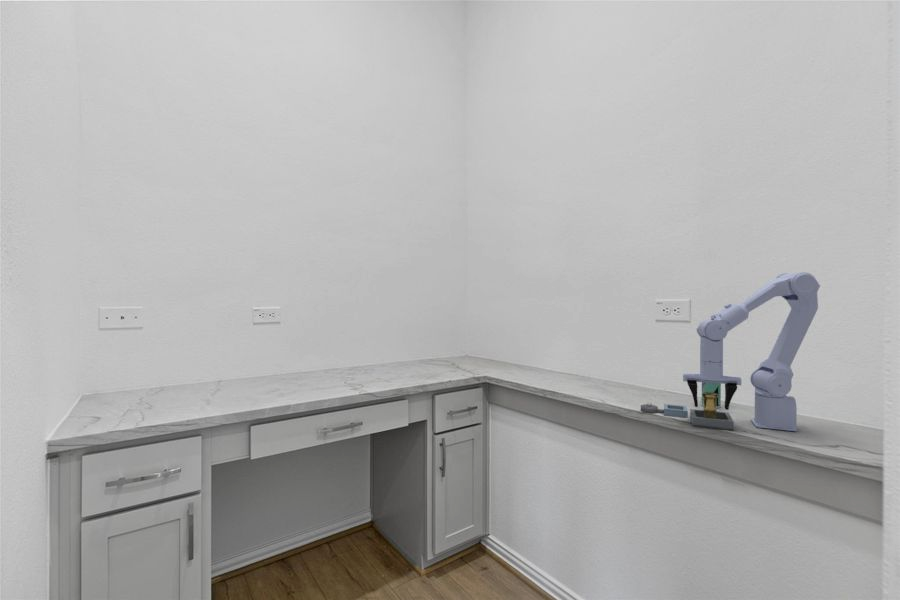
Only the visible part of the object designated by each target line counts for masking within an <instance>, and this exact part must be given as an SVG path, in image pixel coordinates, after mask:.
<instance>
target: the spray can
mask: <svg viewBox="0 0 900 600" xmlns="http://www.w3.org/2000/svg"><path fill="white" fill-rule="evenodd" d="M708 381H709V380H708ZM703 392H711V393H716V394H718V398H716V410H718V409H721V407H722V406H721V404H722V403H721V402H722V401H721V400H722V399H721V397H722V396H721V395H722V394H721V392H722V384H721V383H707V382H701V394H702V393H703ZM701 406H702V407H703V408H704V397H703V396H702V395H701Z"/></svg>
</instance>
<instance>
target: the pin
mask: <svg viewBox="0 0 900 600" xmlns="http://www.w3.org/2000/svg"><path fill="white" fill-rule="evenodd" d="M702 396H703V397H704V407H703V410H704V416H703V418H711V419H716V411H717V409H716V398H718V394H716V393H711V392H703V393H702V392H701V397H702Z"/></svg>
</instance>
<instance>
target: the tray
mask: <svg viewBox="0 0 900 600" xmlns="http://www.w3.org/2000/svg"><path fill="white" fill-rule="evenodd" d="M689 411H690V412H689V413H690V415H689V417H690V422H691V426H692V427H697V428H698V427H699V428H704V429H705V428H706V429H715V430H723V431H734V427H735V426H734V425H735V424H734V420H733V418H732V416H731V414H730V413H729V412H727V411H717V410H716V419H711V418H703V416H704V409H696V408H690V410H689Z"/></svg>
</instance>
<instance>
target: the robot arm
mask: <svg viewBox="0 0 900 600" xmlns="http://www.w3.org/2000/svg"><path fill="white" fill-rule="evenodd" d="M820 288H821V285H820V284H819V281H818V280H817V279H816V277H815V275H813V274H811V273H809V272H803V271H802V272H797V273H796V272H795V273H785V272H784V273H781V274H778V275H777V276H775V278H771V279H770V280H769V281H768V282H766V283H765V284H764V285H762V286H761V287H760V288H758V289H757V290H756V291H754V292H753V293H752V294H750V295H749V296H748V297H746V298H745V299H743V301H740V303H738V302H732V303H726V304H725V305H724V308H723V309H721V310H720V311H718V312H717V313H716V314H715V313H714V314H711V315H710V318H709V319H703V320H701V322H700V323H699V325H698V326H697V328H696V333H697V334H698V336H699V337H700V340H699V341H700V344H699V345H700V346H699V347H700V348H699V354H700V355H699V365H700V366H699V370H700V371H699V373H682V381H683V382H686V383H687V386H688V388H689V390H690V392H691V395H692V398H693V403H694V404H693V405H694V407H695V408H698V404H699V403H698V402H699V401H698V383H702V382H707V383H721V385H722V384H724V393H725V394H724V395H725V397H724V409H725V410H727V411H728V410H730V409H729V407H730V404H731V400H732V399H733V396H734V395H735V393H736V392H737V390H738V386H742V378H741V377H737V376H729V375H728V376H727V375H724V339H725V338H726V336H727V335H728V332H729V331H732V330H733V329H734V328H736V327H737V326H739V325H740V324H742V323H744V321H746V320H748V318H749V314H750V312H752V311H753V310H755V309H757V308H758V307H760V306H762V305H763V304H765V303H766V302H769V301H770V300H771V299H774V298H775V297H781V298H783V299H784V300H785V301H786V302H787V303H788V306H789V307H790V311H789V314H788V316H787V318H786V319H785V322H784V324H783V325H782V328H781V330H780V333H779V335H778V336H777V339H776V340H775V341H776V342H774V346H773V347H772V350H771V351H770V354H769V355H768V357H767V359H765V360H764V361H762V362H761V363H760V364H759V365H758V368H756V369H755V370H754V371H752V373H751V375H750V384H751V385H752V386H753V387H754V418H753V417H751V418H750V421H751V422H752V424H753V425H754V426H755V428H761V429H769V430H770V429H771V430H772V429H773V430H778V431H779V430H780V431H789V432H797V431H798V430H797V401H796V399H795V397H794V396H789V395H788V394H789V393H790V392H791V390H792V386H793V385H792V379H793V376H794V373H793V369H792V368H791V367H792V363H793V362H794V360H795V357H796V355H797V353H798V351H799V349H800V347H801V344H802V343H803V341H804V338H805V337H806V334H807V333H808V330H809V329H810V327H811V324H812V322H813V320H814V318H815V315H816V314H817V311H818V308H819V304H818V303H819V301H818V300H819V299H818V291H819V289H820ZM708 380H709V381H708Z"/></svg>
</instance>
